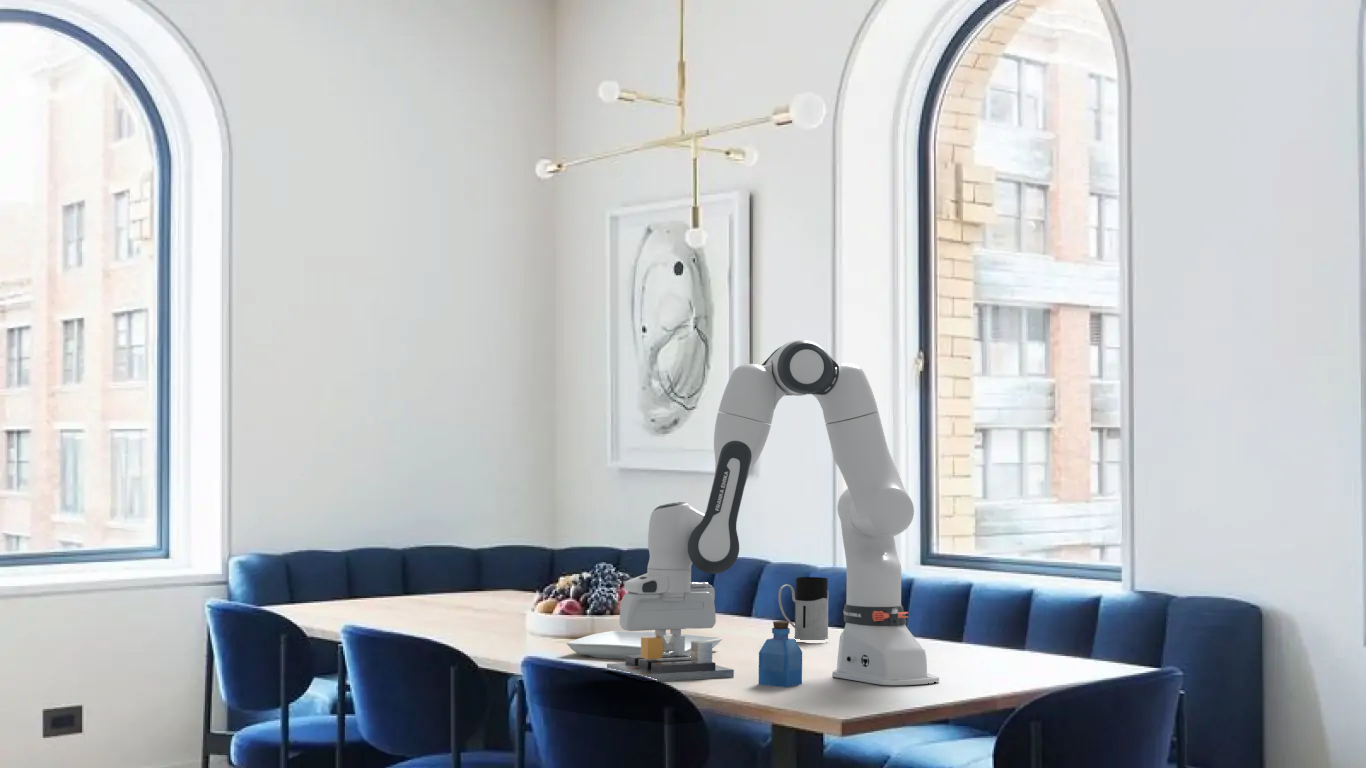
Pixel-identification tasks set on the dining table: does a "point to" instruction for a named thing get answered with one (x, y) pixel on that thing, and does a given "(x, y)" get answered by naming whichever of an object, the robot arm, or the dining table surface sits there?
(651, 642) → the handle
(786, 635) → the blue glass bottle
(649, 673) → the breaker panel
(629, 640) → the square plate
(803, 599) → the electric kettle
